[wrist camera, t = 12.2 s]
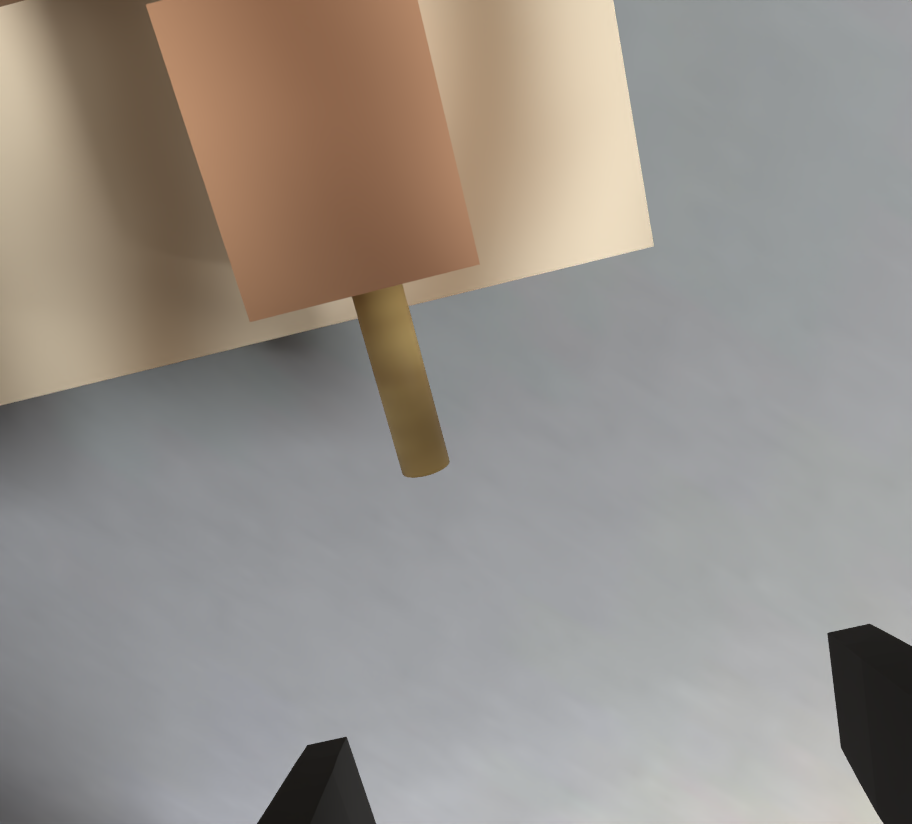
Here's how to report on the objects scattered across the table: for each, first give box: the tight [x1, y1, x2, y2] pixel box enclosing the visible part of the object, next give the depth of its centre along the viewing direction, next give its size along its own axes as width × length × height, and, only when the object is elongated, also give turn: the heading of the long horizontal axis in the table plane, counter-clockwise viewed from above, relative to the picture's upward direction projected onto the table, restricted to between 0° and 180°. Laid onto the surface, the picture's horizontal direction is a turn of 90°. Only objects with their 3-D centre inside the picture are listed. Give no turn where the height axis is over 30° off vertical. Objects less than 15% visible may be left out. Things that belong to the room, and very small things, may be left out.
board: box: [0, 0, 654, 406], centre depth 17 cm, size 22×9×3 cm, turn 104°
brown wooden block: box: [146, 0, 480, 478], centre depth 16 cm, size 4×9×5 cm, turn 14°
